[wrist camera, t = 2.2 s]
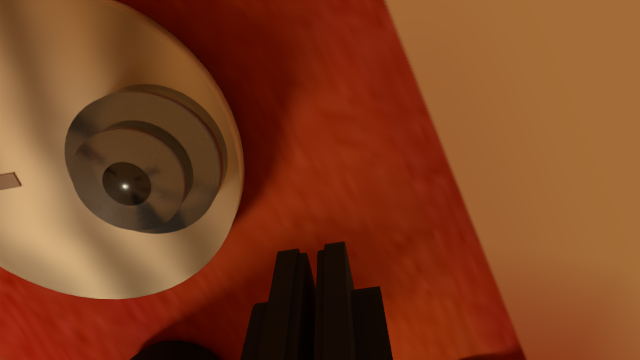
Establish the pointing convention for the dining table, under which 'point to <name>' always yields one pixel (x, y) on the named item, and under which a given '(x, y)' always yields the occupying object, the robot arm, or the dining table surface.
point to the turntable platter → (49, 146)
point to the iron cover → (146, 159)
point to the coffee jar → (175, 352)
